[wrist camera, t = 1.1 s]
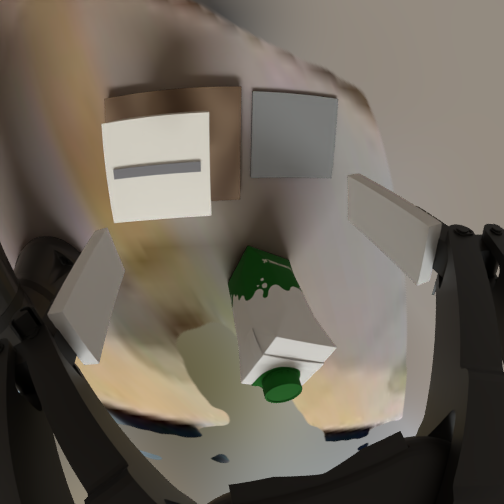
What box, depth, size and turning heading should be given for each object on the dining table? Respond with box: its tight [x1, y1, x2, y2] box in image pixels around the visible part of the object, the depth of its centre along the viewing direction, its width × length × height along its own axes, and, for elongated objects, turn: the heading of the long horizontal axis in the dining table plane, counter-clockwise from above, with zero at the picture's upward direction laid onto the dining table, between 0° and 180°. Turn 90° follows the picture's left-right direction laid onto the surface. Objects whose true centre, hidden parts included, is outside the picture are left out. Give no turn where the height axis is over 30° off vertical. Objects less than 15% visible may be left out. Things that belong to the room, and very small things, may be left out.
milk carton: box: [228, 246, 337, 403], centre depth 34 cm, size 9×9×20 cm
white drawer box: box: [102, 111, 211, 223], centre depth 23 cm, size 8×8×6 cm
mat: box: [250, 91, 338, 178], centre depth 33 cm, size 11×11×1 cm
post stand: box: [104, 87, 241, 201], centre depth 26 cm, size 16×14×12 cm
